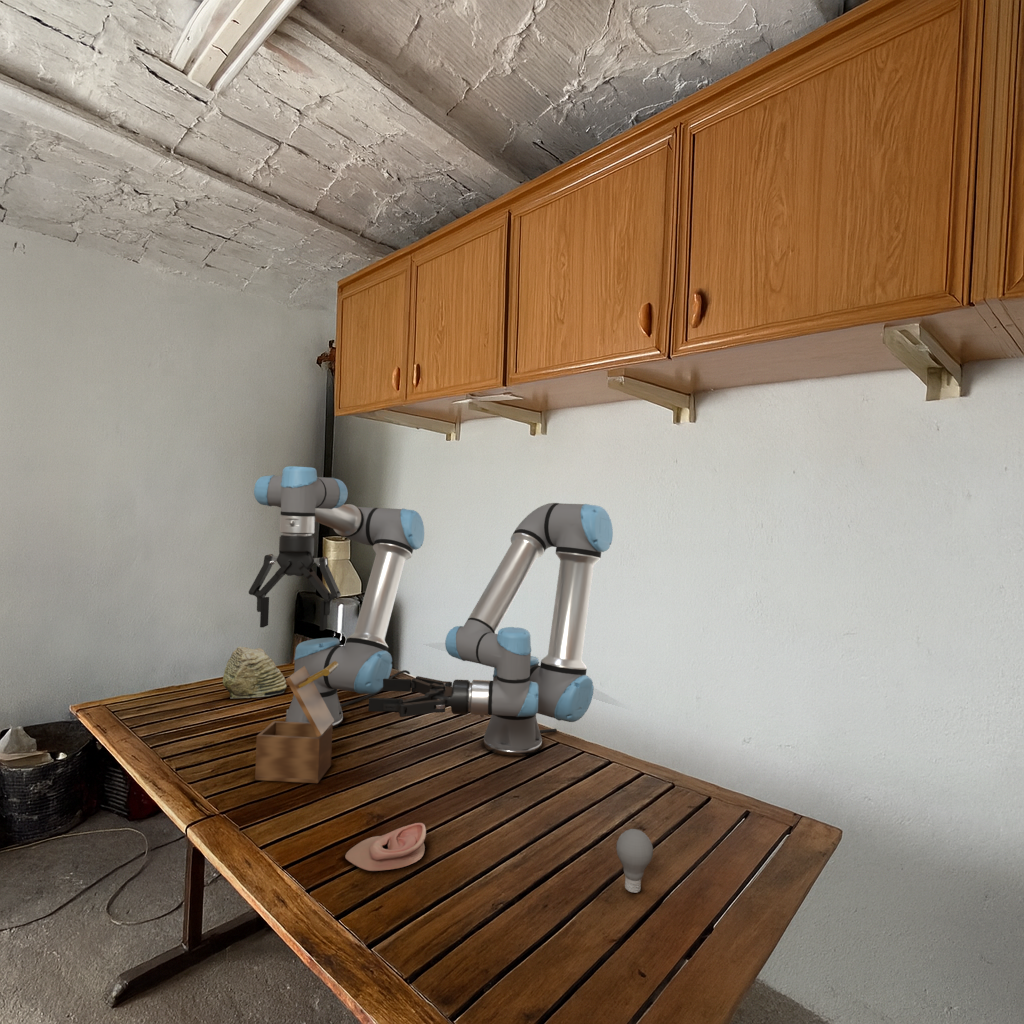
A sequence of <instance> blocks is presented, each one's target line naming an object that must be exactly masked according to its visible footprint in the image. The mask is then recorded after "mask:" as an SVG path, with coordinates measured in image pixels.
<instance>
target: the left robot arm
mask: <svg viewBox="0 0 1024 1024" xmlns="http://www.w3.org/2000/svg"><path fill="white" fill-rule="evenodd" d="M348 492H349V491H348V488H347V485H346V484H345V482H344V481H342V480H341V479H339V478H335V477H326V476H325V477H322V476H318V473H317V469H316V468H315V467H310V466H296V465H295V466H294V465H293V466H292V465H290V466H289V465H288V466H285V467H283V469H282V474H281V475H276V474H271V475H263V476H262V475H261V476H260V477H259V478H258V479H257V480H256V482H255V483H254V489H253V495H254V498H255V500H256V502H257V503H258V504H260V505H261V506H267V507H278V508H280V517H279V533H281V534H280V536H279V538H278V539H279V541H278V544H279V545H278V553H279V554H278V555H274V554H273V553H269V554H266V555H264V557H263V564H262V566H261V568H260V570H259V572H258V573H257V575H256V577H255V579H254V580H253V583H252V584H251V586H250V588H249V590H248V595H250V596H254V597H256V611H257V612H258V613H260V616H259V628H266V627H268V626H269V613H270V612H269V611H270V597H269V596H267V595H268V593H269V592H270V591H271V590H273V588H274V587H275V586H276V585H277V584H278V582H279V581H280V580H281V579H282V578H283V577H284V576H288V577H292V576H296V577H303V576H304V577H305V578H306V579H307V580H308V581H309V582H310V583H311V584H312V586H313V587H314V588H315V589H316V591H317V592H318V594H319V595H320V596H321V597H322V600H321V601H320V612H319V613H320V615H319V617H320V618H319V631H325V630H327V628H328V616H330V615H331V614H332V612H333V600H337V599H338V598H340V597H341V596H342V594H341V591H340V589H339V587H338V585H337V582H336V581H335V578H334V576H333V574H332V571H331V569H330V566H329V559H328V556H321V557H316V556H315V537H314V535H313V534H315V532H316V531H315V530H316V523H318V524H321V525H323V526H326V527H328V528H331V529H333V531H334V532H335V534H337V535H339V536H341V537H344V538H346V539H349V540H352V541H353V542H356V543H359V544H362V545H366V546H370V547H372V549H373V551H374V553H375V557H374V560H373V564H372V567H371V570H370V576H369V578H368V582H367V586H366V589H365V593H364V596H363V600H362V603H361V607H360V611H359V614H358V617H357V621H356V625H355V628H354V632H353V633H352V634H350V635H349V636H347V637H346V640H345V644H344V645H340V644H341V641H340V639H339V638H337V637H321V638H313V639H307V640H304V641H302V642H299V643H298V644H297V645H296V647H295V652H294V653H295V654H294V658H293V660H294V672H293V673H295V672H296V671H298V670H299V669H300V668H302V667H304V666H305V668H306V669H307V671H308V673H309V675H310V676H312V675H314V674H316V673H318V672H319V671H321V670H323V669H325V668H326V667H327V666H329V665H330V664H331V663H332V662H334V661H336V662H337V663H338V667H337V668H336V669H335V670H334V671H332V672H331V673H330V674H329V675H328V676H324V675H323V676H322V677H320V678H318V679H316V680H314V681H313V682H314V684H315V686H316V688H317V689H318V691H319V693H320V695H321V697H322V699H323V700H324V702H325V704H326V706H327V708H328V710H329V711H330V713H331V715H332V717H333V719H334V722H333V723H332V724H333V726H332V730H333V729H335V728H337V727H339V726H340V725H342V723H343V722H344V714H343V709H342V707H346V706H350V705H352V704H355V703H358V702H361V701H363V700H366V699H369V698H372V697H373V696H375V695H377V694H379V693H381V692H382V691H383V679H394V678H395V677H398V676H399V675H401V674H407V675H411V672H410V671H409V670H405V669H403V670H400V671H398V672H396V673H394V674H392V675H391V673H392V669H393V663H392V662H393V657H392V655H391V653H390V652H389V646H388V643H387V642H386V636H387V633H388V629H389V625H390V621H391V616H392V613H393V610H394V605H395V601H396V597H397V593H398V591H399V586H400V582H401V578H402V574H403V570H404V567H405V562H406V561H408V560H410V559H411V558H412V556H413V552H414V550H415V551H417V550H419V549H421V547H423V544H424V540H425V526H424V521H423V518H422V517H421V515H420V513H419V512H418V511H416V510H414V509H407V508H385V507H365V506H356V505H354V504H352V503H351V504H350V503H348V504H347V503H346V502H347V499H348V495H349V494H348ZM345 503H346V504H345ZM276 562H277V564H278V565H279V568H278V569H277V571H276V572H275V573H274V575H273V576H272V577H271V578H270V579H269V580H268V581H267V582H266V583H265V580H266V578H267V576H268V575H269V573H270V571H271V569H272V567H273V566H274V565H275V564H276ZM315 564H316V566H317V567H318V568H319V570H320V572H321V575H322V578H323V579H324V581H325V584H326V585H325V584H324V583H323V582H322V580H321V579H320V578H319V576H318V575H317V572H316V571H315V570H314V569H313V566H314V565H315ZM264 583H265V584H264ZM263 584H264V585H263ZM262 586H263V587H262ZM261 587H262V588H261ZM338 691H346V692H351V693H357V694H359V695H362V694H366V695H364V696H361V697H359V698H356V699H353V700H350V701H347V702H343V703H341V702H340V699H339V695H338ZM292 696H293V697H292V699H291V702H290V704H289V708H288V709H286V712H285V713H286V714H285V722H303V723H309V721H308V719H307V717H306V715H305V713H304V712H303V710H302V708H301V706H300V704H299V702H298V701H297V699H296V697H295V695H294V694H293V695H292Z"/></svg>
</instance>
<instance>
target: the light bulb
mask: <svg viewBox="0 0 1024 1024" xmlns="http://www.w3.org/2000/svg"><path fill="white" fill-rule="evenodd" d="M615 849H616V854H617V857H618V859H619V861H620V863H621V865H622V867H623V873H624V874H623V875H624V876H625V878H624V888H625V890H627V891H628V892H630V893H634V894H635V893H639V892H640V891H641V889H642V887H641V886H642V879H643V877H644V875H645V871H646V868H647V867H648V866H649V864H650V863H651V861H652V859H653V855H654V847H653V843H652V841H651V838H649V836H648V835H647V834H646V833H645V832H643V831H642V830H641V829H636V828H629V829H627V830H625V831H623V832H622V833H621V834H620V835H619V837H618V839H617V841H616V847H615Z"/></svg>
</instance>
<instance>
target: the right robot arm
mask: <svg viewBox="0 0 1024 1024" xmlns="http://www.w3.org/2000/svg"><path fill="white" fill-rule="evenodd" d="M613 537H614V531H613V523H612V519H611V517H610V514H609V513H608V511H607V510H606V509H605V508H604V507H602V506H600V505H596V504H589V503H559V502H549V503H546V504H543V505H540V506H539V507H537V508H535V509H534V510H532V511H531V512H530V513H528V514H527V515H526V516H525V517H524V518H523V520H522V521H521V522H520V523H519V524H518V525H517V527H516V528H515V530H514V531H513V533H512V534H511V536H510V545H509V547H508V549H507V551H506V553H505V554H504V556H503V558H502V559H501V561H500V563H499V565H498V566H497V568H496V569H495V572H494V573H493V575H492V576H491V579H490V580H489V582H488V583H487V585H486V587H485V589H484V590H483V592H482V593H481V595H480V597H479V599H478V601H477V602H476V604H475V606H474V607H473V610H472V611H471V613H470V614H469V617H468V618H467V620H466V622H465V623H464V625H459V626H458V625H456V626H453V628H451V629H449V631H448V632H447V634H446V637H445V642H444V645H445V650H446V652H447V654H448V655H449V656H451V658H455V659H458V660H461V661H463V662H470V663H474V664H479V665H482V666H486V667H491V668H493V674H492V679H493V680H489V679H488V680H487V679H473V680H472V681H471V680H469V679H454V680H453V681H446V680H445V681H444V680H440V679H434V678H429V677H424V676H419V675H417V676H415V677H414V678H392V679H383V690H382V691H383V692H405V693H406V692H409V693H411V694H414V693H416V692H417V693H419V694H422V695H421V696H420V695H419V696H415V697H411V698H406V699H403V697H398V698H393V697H390V698H388V697H368V710H367V711H368V712H376V713H377V712H378V713H379V712H380V713H381V712H382V713H398V714H399V717H401V718H405V717H412V716H420V715H427V714H434V713H435V714H436V713H439V714H441V713H442V714H443V713H446V707H450V709H451V713H452V715H468V714H469V712H470V715H475V716H477V715H479V716H480V717H482V718H483V717H485V716H491V717H490V719H489V722H488V724H487V727H486V730H485V732H484V735H483V746H484V748H485V749H487V750H488V751H490V752H492V753H494V754H497V755H502V756H506V757H507V756H508V757H524V756H529V755H533V754H536V753H537V752H539V751H540V750H541V749H542V747H543V739H542V735H543V734H552V733H557V732H558V728H548V729H540V727H539V723H538V719H537V715H542V716H545V717H549V718H552V719H555V720H557V721H564V722H568V723H575V722H577V721H579V720H580V719H582V718H583V717H584V716H585V714H586V713H587V711H588V709H589V708H590V706H591V704H592V700H593V697H594V689H595V688H594V687H595V686H594V682H593V679H592V678H591V677H589V675H587V669H588V668H587V665H586V664H585V662H584V661H583V652H584V645H585V638H586V628H587V621H588V613H589V605H590V598H591V589H592V582H593V576H594V575H593V573H594V566H595V564H597V563H598V562H599V561H601V558H602V553H604V552H606V551H608V550H609V549H610V548H611V545H612V542H613ZM549 548H555V555H556V556H557V557H558V559H559V569H558V575H557V583H556V591H555V596H554V597H555V598H554V606H553V611H552V612H553V613H552V620H551V629H550V636H549V641H548V643H549V644H548V651H547V655H546V656H544V657H543V658H542V659H541V660H540V661H539V657H537V656H534V655H532V646H531V645H532V644H531V633H530V632H529V630H527V629H526V628H523V627H516V626H515V627H514V626H506V627H501V628H500V629H499V627H500V626H501V623H502V622H503V620H504V618H505V617H506V614H507V613H508V612H509V609H510V607H511V606H512V604H513V602H514V600H515V598H516V596H517V595H518V593H519V591H520V589H521V587H522V585H523V584H524V582H525V580H526V578H527V576H528V575H529V573H530V571H531V569H532V567H533V565H534V564H535V562H536V561H537V559H538V558H541V557H543V555H544V554H545V552H546V550H548V549H549ZM498 629H499V630H498ZM539 664H540V665H539Z"/></svg>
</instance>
